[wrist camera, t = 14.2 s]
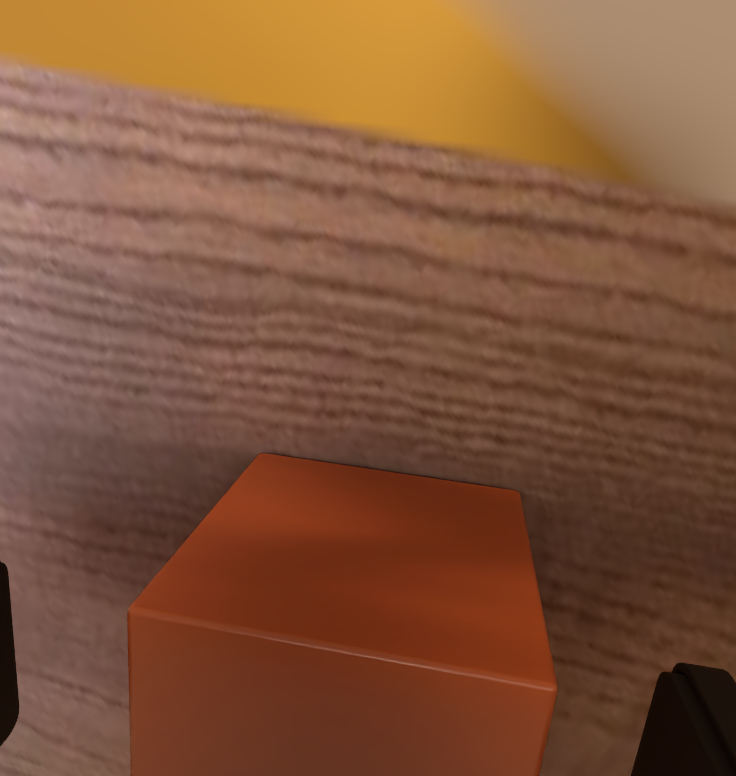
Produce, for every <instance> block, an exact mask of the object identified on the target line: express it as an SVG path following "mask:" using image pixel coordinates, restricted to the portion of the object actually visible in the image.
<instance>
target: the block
mask: <svg viewBox="0 0 736 776" xmlns="http://www.w3.org/2000/svg"><path fill="white" fill-rule="evenodd" d="M127 621H128V666H129V711H130V756H131V776H539V773H540V768H541V764H542V759H543V755H544V750H545V746H546V742H547V737H548V733H549V728H550V724H551V719H552V715H553V710H554V706H555V701H556V697H557V692H558V687H557V682H556V676H555V671H554V666H553V661H552V656H551V651H550V646H549V640H548V635H547V630H546V625H545V620H544V615H543V610H542V604H541V599H540V594H539V589H538V584H537V579H536V573H535V568H534V563H533V558H532V553H531V548H530V543H529V537H528V532H527V527H526V522H525V517H524V512H523V507H522V501H521V496H520V493H519V492H517V491H515V490H508V489H501V488H495V487H488V486H481V485H475V484H468V483H461V482H454V481H448V480H441V479H434V478H428V477H421V476H414V475H407V474H401V473H394V472H387V471H381V470H374V469H367V468H361V467H354V466H347V465H340V464H334V463H327V462H320V461H314V460H307V459H300V458H293V457H287V456H280V455H273V454H267V453H260V454H258V456H257V457H256V458H255V459H254V460H253V461H252V463H251V464H250V465H249V466H248V467H247V469H246V470H245V471H244V472H243V473H242V474H241V476H240V477H239V478H238V479H237V480H236V482H235V483H234V484H233V485H232V486H231V487H230V489H229V490H228V491H227V492H226V493H225V495H224V496H223V497H222V498H221V499H220V500H219V502H218V503H217V504H216V505H215V506H214V508H213V509H212V510H211V511H210V512H209V513H208V515H207V516H206V517H205V518H204V519H203V520H202V522H201V523H200V524H199V525H198V526H197V528H196V529H195V530H194V531H193V532H192V533H191V535H190V536H189V537H188V538H187V539H186V541H185V542H184V543H183V544H182V545H181V546H180V548H179V549H178V550H177V551H176V552H175V554H174V555H173V556H172V557H171V558H170V559H169V561H168V562H167V563H166V564H165V565H164V567H163V568H162V569H161V570H160V571H159V572H158V574H157V575H156V576H155V577H154V578H153V580H152V581H151V582H150V583H149V584H148V585H147V587H146V588H145V589H144V590H143V591H142V593H141V594H140V595H139V596H138V597H137V598H136V600H135V601H134V602H133V603H132V604H131V606H130V607H129V609H128V613H127Z"/></svg>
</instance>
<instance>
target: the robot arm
mask: <svg viewBox="0 0 736 776" xmlns="http://www.w3.org/2000/svg"><path fill="white" fill-rule="evenodd" d="M18 714H19V698H18V686H17V674H16V662H15V650H14V638H13V626H12V613H11V601H10V589H9V577H8V570H7V567H6V565H5V564H4V563H2V562H0V746H1V745H2V744H3V742H4V741H5V740H6V739H7V738H8V736H9V735H10V733H11V732H12V730H13V728H14V726H15V724H16V721H17V719H18ZM631 776H736V682H735V681H734V679H733V678H732V676H731V675H730V674H729V673H728V672H727V671H725V670H723V669H718V668H711V667H705V666H699V665H693V664H687V663H677V664H676V665H675V666H674V668H673V670H672V673H670V672H662V673H661V674H660V675H659V677H658V680H657V683H656V687H655V691H654V694H653V698H652V701H651V705H650V709H649V712H648V716H647V720H646V723H645V727H644V730H643V734H642V738H641V741H640V745H639V748H638V752H637V756H636V759H635V763H634V766H633V770H632V774H631Z"/></svg>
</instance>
